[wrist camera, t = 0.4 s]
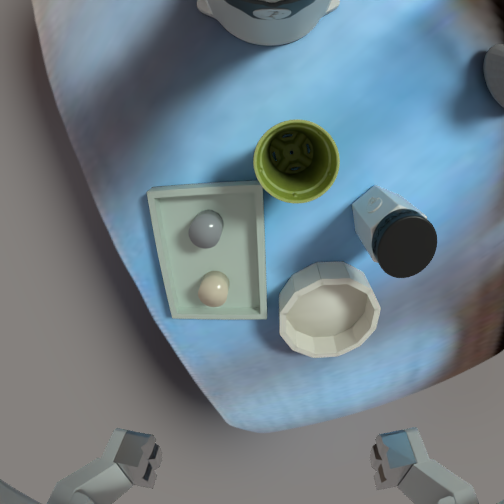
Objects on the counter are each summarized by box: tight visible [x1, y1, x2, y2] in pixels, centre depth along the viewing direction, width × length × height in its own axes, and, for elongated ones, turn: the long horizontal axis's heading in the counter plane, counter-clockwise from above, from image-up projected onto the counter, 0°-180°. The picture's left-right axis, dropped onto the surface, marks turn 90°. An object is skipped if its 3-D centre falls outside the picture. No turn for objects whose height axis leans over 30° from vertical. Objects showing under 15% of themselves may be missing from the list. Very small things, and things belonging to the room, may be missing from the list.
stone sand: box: [198, 271, 230, 307], centre depth 47 cm, size 4×4×4 cm
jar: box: [352, 185, 437, 278], centre depth 37 cm, size 9×8×12 cm
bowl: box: [279, 261, 381, 358], centre depth 48 cm, size 16×16×5 cm
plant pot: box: [253, 120, 340, 203], centre depth 36 cm, size 9×9×9 cm
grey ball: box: [188, 210, 224, 249], centre depth 43 cm, size 4×4×4 cm
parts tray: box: [147, 181, 267, 319], centre depth 46 cm, size 22×16×2 cm
